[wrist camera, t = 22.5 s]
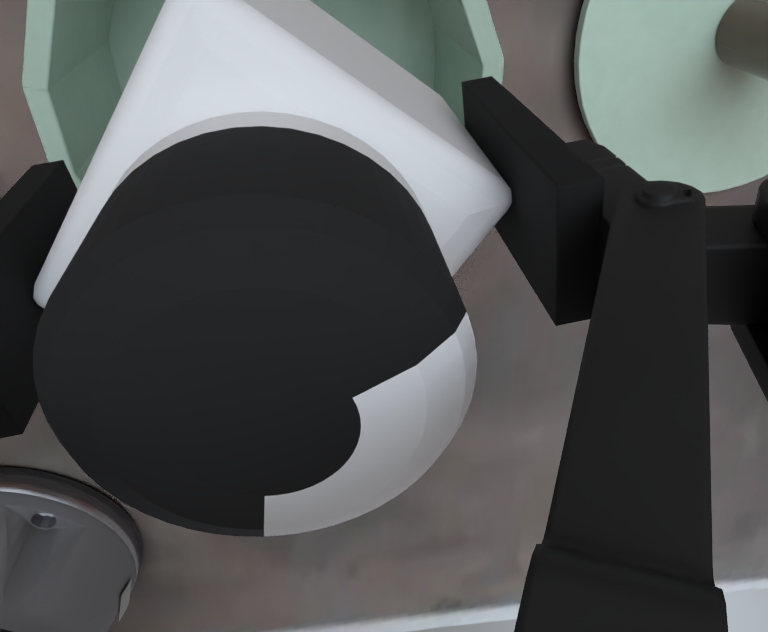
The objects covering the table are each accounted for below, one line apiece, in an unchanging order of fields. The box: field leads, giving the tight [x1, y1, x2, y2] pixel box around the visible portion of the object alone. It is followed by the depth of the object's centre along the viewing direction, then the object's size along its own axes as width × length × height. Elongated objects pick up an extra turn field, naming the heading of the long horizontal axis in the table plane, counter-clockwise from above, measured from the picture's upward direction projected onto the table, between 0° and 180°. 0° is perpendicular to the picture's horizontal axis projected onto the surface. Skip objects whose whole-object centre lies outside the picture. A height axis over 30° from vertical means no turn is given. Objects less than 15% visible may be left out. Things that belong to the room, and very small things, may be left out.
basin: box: [22, 0, 504, 190], centre depth 22 cm, size 14×14×8 cm
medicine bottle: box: [33, 0, 512, 537], centre depth 13 cm, size 7×7×12 cm
